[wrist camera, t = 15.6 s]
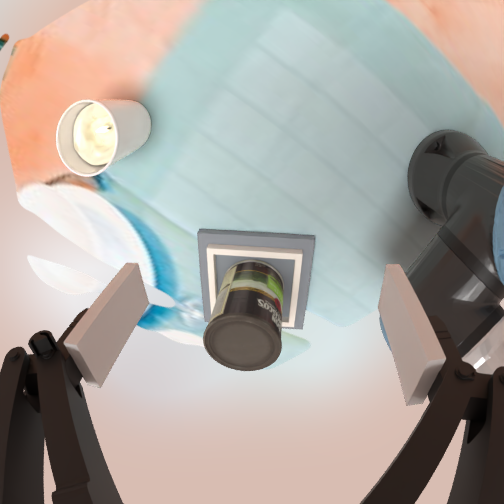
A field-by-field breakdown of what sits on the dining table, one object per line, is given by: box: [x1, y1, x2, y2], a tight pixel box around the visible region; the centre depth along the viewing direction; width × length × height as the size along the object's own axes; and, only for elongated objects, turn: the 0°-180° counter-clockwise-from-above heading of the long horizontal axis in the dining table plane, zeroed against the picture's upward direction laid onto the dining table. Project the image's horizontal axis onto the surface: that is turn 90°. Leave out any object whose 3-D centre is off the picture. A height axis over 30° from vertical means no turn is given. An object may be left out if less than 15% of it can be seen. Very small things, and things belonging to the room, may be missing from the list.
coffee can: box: [203, 260, 284, 371], centre depth 45 cm, size 10×10×14 cm
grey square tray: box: [197, 229, 315, 329], centre depth 51 cm, size 18×18×3 cm
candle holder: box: [56, 99, 151, 177], centre depth 37 cm, size 10×10×12 cm
